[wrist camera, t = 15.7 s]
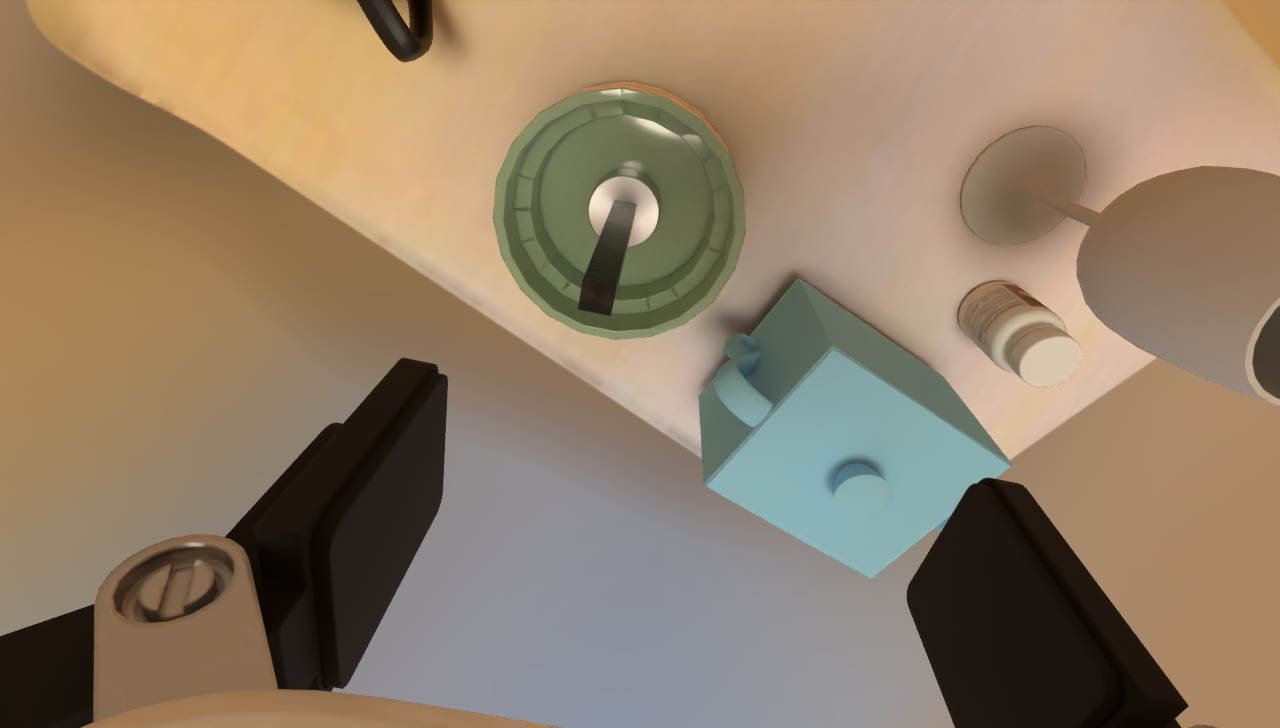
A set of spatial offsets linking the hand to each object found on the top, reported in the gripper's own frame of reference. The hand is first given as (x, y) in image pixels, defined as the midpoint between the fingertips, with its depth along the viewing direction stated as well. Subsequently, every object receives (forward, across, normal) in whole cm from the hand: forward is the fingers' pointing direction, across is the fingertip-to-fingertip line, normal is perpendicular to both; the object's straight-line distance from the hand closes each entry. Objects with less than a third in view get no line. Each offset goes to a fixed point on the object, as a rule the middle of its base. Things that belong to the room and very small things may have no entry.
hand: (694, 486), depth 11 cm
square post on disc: (+30, +3, +3) cm, 31 cm away
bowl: (+31, +3, +3) cm, 31 cm away
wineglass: (+32, -21, -3) cm, 38 cm away
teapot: (+31, -14, +14) cm, 37 cm away
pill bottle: (+32, -23, +5) cm, 39 cm away
